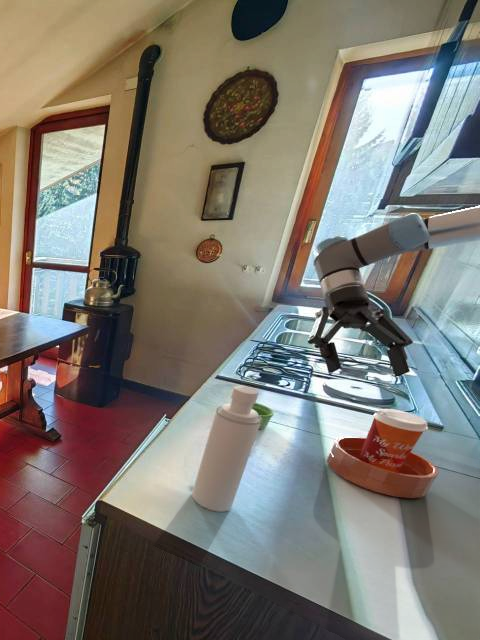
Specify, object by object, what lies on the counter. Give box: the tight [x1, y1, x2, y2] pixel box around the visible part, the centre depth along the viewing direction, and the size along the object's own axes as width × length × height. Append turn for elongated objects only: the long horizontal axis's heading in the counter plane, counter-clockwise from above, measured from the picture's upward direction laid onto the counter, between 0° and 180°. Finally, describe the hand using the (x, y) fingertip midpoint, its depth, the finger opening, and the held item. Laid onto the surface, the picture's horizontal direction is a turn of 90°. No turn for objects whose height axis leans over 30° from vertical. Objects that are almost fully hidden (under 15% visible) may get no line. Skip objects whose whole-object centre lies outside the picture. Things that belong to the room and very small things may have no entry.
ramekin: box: [252, 402, 275, 430], centre depth 104 cm, size 9×9×4 cm
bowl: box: [326, 435, 439, 499], centre depth 82 cm, size 15×15×6 cm
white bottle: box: [191, 385, 262, 513], centre depth 70 cm, size 7×7×25 cm
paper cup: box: [359, 408, 429, 472], centre depth 80 cm, size 8×8×14 cm
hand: (368, 372), depth 88 cm, fingers open, 13 cm apart
